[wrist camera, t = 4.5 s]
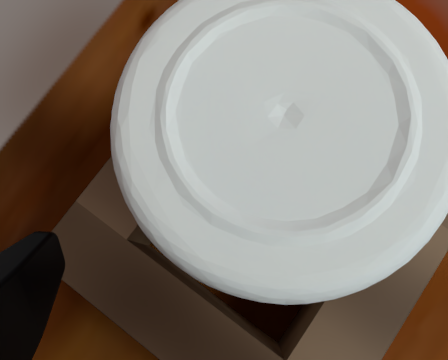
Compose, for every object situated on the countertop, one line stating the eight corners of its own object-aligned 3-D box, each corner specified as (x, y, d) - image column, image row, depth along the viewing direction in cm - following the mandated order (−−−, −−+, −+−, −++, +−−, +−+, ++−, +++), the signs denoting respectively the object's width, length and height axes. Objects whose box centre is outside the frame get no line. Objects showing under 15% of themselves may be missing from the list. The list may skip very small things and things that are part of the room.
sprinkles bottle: (201, 184, 18) (90, -26, 5) (299, 172, 18) (431, -75, 5) (212, 285, 17) (109, 333, 4) (316, 272, 17) (536, 282, 4)
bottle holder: (294, 435, 16) (307, 481, 12) (72, 258, 18) (32, 255, 15) (444, 195, 18) (491, 178, 14) (226, 59, 20) (222, 16, 16)
